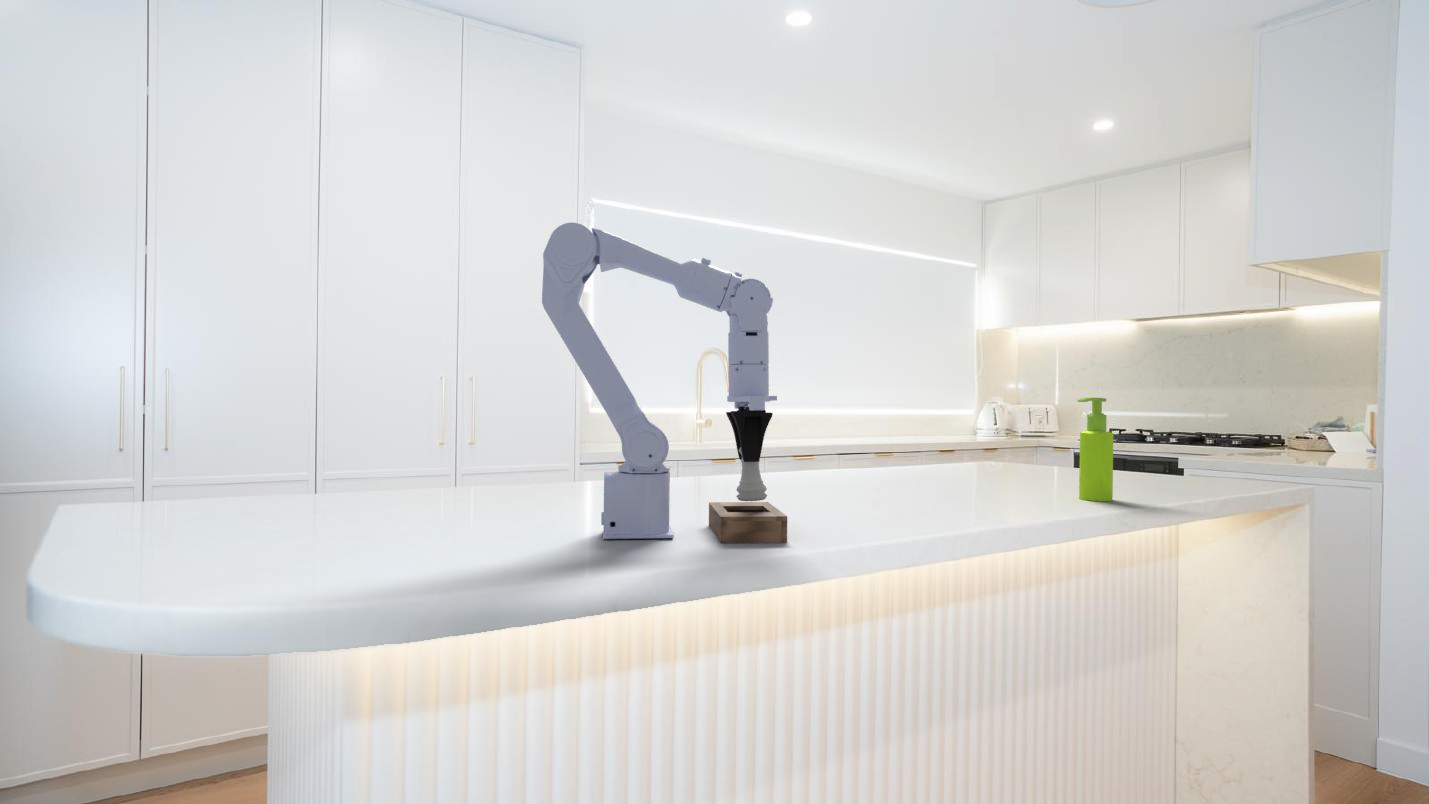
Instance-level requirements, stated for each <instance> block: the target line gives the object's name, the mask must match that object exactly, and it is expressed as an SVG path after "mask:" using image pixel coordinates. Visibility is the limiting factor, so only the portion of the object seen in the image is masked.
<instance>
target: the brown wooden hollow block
mask: <svg viewBox="0 0 1429 804" xmlns="http://www.w3.org/2000/svg"><path fill="white" fill-rule="evenodd" d="M708 527H709V528H710V530H711V531H712V533H713V534H714V536H715V537H716V538H717V540H718V542H719V543H720V544H747V543H749V544H759V543H760V544H761V543H762V544H763V543H765V544H767V543H770V544H771V543H772V544H773V543H788V516H787V515H786V514H785V513H784V512H782V511H781V510H780V509H778V508H777V507H776V506H775V505H773V504H772V503H770V502H769V501H729V502H728V501H726V502H725V501H724V502H723V501H721V502H717V501H716V502H715V501H711V502H708Z"/></svg>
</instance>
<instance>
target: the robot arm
mask: <svg viewBox="0 0 1429 804" xmlns="http://www.w3.org/2000/svg"><path fill="white" fill-rule="evenodd" d="M542 253H543V254H542V256H543V257H542V259H543V262H542V263H543V270H542V271H543V273H542V291H541V303H542V304H541V305H542V308H543V309H544V311H545V312H546V314H547V316H548V318H549V319H550V321H551V322H552V324H553V326H554V328H555V329H556V331H557V332H558V334H559V336H560V337H561V339H562V341H563V342H564V344H565V346H566V347H567V349H568V351H569V353H570V355H571V356H572V358H573V360H574V361H575V363H576V364H577V366H578V367H579V370H580V371H581V373H582V375H583V376H584V378H585V380H586V381H587V383H588V385H589V386H590V388H591V390H592V391H593V393H594V394H595V396H596V398H597V399H598V402H599V403H600V404H601V407H602V409H603V410H604V411H605V413H606V415H607V417H608V418H609V420H610V422H611V425H613V428H614V429H615V431H616V432H617V434H618V436H619V439H620V441H621V452H622V455H623V458H624V462H623V463H622V464H620V465H618V471H606V472H604V475H603V479H604V480H603V511H602V512H601V516H600V517H601V519H600V521H601V526H603V532H602V533H603V537H602V538H603V539H604V540H608V539H609V540H613V539H614V540H617V539H618V540H620V539H621V540H622V539H623V540H624V539H625V540H626V539H627V540H628V539H673V538H674V536H675V534H674V532H673V529H672V527H671V525H670V500H671V499H670V492H671V491H670V484H671V482H670V478H671V477H670V476H671V472H670V471H671V470H670V469H671V468H670V467H669V466H667V465H665V464H664V462H665V461H666V459H667V457H668V454H669V450H670V449H669V446H670V445H669V441H668V438H667V435H665V433H664V432H663V430H662V429H661V428H659V427H658V426H657V425H656V424H653V422H650V421H649V419H648V418H647V416H646V414H645V412H644V411H643V409H642V408H641V406H640V405H639V403H638V401H637V399H636V398H635V396H634V394H633V392H632V391H631V390H630V387H629V386H628V384H627V383H626V381H625V379H624V378H623V376H622V374H621V372H620V371H619V369H618V367H617V366H616V364H615V362H614V360H613V359H612V358H611V356H610V354H609V352H608V351H607V349H606V347H605V346H604V343H602V340H601V339H600V337H599V336H598V334H597V332H596V330H595V329H594V327H593V325H592V323H591V322H590V321H589V319H588V317H587V315H586V313H585V311H583V309H582V306H581V305H580V301H581V298H582V294H583V292H584V288H585V284H586V283H587V282H588V280H589V278H590V277H591V276H592V275H593V274H594V272H595V270H596V269H597V266H598V265H599V268H600V272H601V273H604V272H608V271H611V270H615V269H619V268H620V269H623V270H627V271H631V272H634V273H637V274H640V275H642V276H646V277H649V278H651V279H653V280H654V279H655V280H658V281H661V282H664V283H667V284H669V285H671V286H672V285H673V287H674V288H675V290H676V293H677V294H678V296H679V297H680V298H681V299H684V300H686V301H687V300H688V301H689V302H693V303H695V304H698V305H700V306H703V307H706V308H708V309H711V310H714V311H716V312H718V313H722V312H726V314H727V316H728V318H729V332H728V336H727V337H728V341H727V342H728V343H727V344H728V345H727V346H728V350H727V351H728V353H727V354H728V356H727V357H728V367H727V368H728V370H727V371H728V396H727V397H726V401H727V402H728V403H734V409H736V410H731V411H726V412H725V413H726V416H727V419H728V420H729V422H730V425H731V428H732V431H733V434H734V439H735V444H736V449H737V454H738V455H737V456H738V459H739V460H740V461H741V459H742V457H743V460H744V462H759V463H760V461H759V459H760V458H761V453H762V449H763V444H764V440H765V439H764V438H765V435H766V432H767V429H768V426H769V424H770V421H771V420H772V418H773V412H767V410H766V403H768V402H771V401H778V396H777V395H769V394H770V393H769V392H770V391H769V390H770V389H769V387H770V386H769V385H770V384H769V380H770V379H769V378H770V377H769V374H770V373H769V368H770V367H769V365H770V364H769V361H770V359H769V357H770V356H769V354H770V353H769V349H770V348H769V347H770V346H769V332H768V325H769V321H768V314H769V312H770V311H771V309H772V306H773V303H774V302H773V301H774V298H773V297H771V292H770V290H769V288H768V287H766V285H765V283H764V282H763V281H761V280H759V279H755V278H747V279H746V278H745V279H742V276H743V273H741V272H740V271H734V273H732V272H729V271H727V270H725V269H721V268H719V267H716V266H714V265H711V263H712V261H711V259H709V258H706V257H702V258H701V260H698V259H696V258H692V259H689V260H688V261H685V262H682V263H681V262H679V261H676V260H674V259H672V258H669V257H667V256H664V255H662V254H660V253H658V252H655V251H653V250H651V249H648V248H646V247H643V246H641V245H639V244H636V243H634V242H631V241H630V240H627V239H624V238H623V237H621V236H618V235H616V234H613V233H610V232H607V231H605V230H602V229H599V228H594V227H591V229H590V228H588V227H586V226H585V225H583V224H582V223H577V222H565V223H562V224H561V225H559V226H558V227H556V228H555V229H554V230H553V231H552V233H551V235H549V239H548V241H547V244H546V246H545V248H544V251H543V252H542ZM740 447H741V452H742V455H741V453H740V452H739V451H738V450H739V449H740ZM760 460H761V459H760Z"/></svg>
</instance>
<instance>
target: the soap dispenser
mask: <svg viewBox="0 0 1429 804" xmlns="http://www.w3.org/2000/svg"><path fill="white" fill-rule="evenodd" d="M1077 402H1079V403H1087V402H1091V404H1092V405H1091V412H1090V413H1089V414H1087V416H1086V417H1087V419H1086V420H1087V421H1086V430H1084V431H1081V432H1080V433H1079V472H1078V473H1079V474H1078V475H1079V477H1078V478H1079V484H1078V485H1079V486H1078V490H1079V491H1078V492H1079V493H1078V499H1080V500H1084V501H1091V502H1092V501H1093V502H1111V501H1113V498H1114V497H1113V493H1114V492H1113V491H1114V489H1113V487H1114V486H1113V485H1114V483H1113V481H1114V432H1111V431H1107V414H1104V412H1102V411H1103V410H1102V408H1103V402H1104V403H1105V402H1107V398H1104V397H1082V398H1078V399H1077Z"/></svg>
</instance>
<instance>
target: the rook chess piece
mask: <svg viewBox="0 0 1429 804" xmlns="http://www.w3.org/2000/svg"><path fill="white" fill-rule="evenodd" d="M738 451H739V452H740V453H741V455H742V452H741V447H740V449H739V450H738ZM738 451H737V452H738ZM760 461H761V459H759V462H744V460H743V457H742V459H741V460H740V463H741V477H740V481H739V485H738V486H737V487H736V492H737V493H738V494H736V496H735V497H736V498H737V500H738V501H739V502H761V501H764V500H766V498H767V497H768V494H766V493H765V492H766V491H767V486H766V485H765V484H764V480H763V479H762V476H761V470H760Z"/></svg>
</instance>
